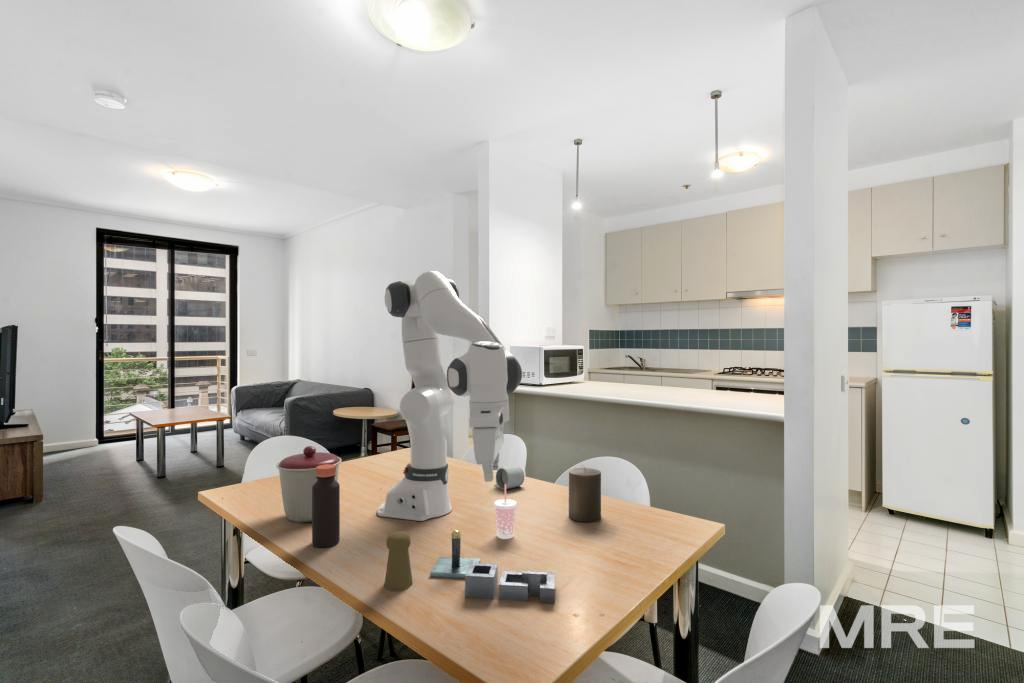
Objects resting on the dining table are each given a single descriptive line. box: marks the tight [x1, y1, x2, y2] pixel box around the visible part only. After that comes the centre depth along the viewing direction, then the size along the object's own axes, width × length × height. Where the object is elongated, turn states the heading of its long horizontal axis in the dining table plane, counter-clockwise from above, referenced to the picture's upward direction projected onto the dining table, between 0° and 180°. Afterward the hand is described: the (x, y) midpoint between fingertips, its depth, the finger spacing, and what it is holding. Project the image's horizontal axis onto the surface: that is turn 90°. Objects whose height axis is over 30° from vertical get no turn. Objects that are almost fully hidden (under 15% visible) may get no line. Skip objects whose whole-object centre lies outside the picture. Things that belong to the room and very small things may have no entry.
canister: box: [276, 445, 342, 523], centre depth 150 cm, size 18×18×21 cm
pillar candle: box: [568, 467, 602, 523], centre depth 150 cm, size 10×10×15 cm
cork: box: [384, 531, 413, 592], centre depth 109 cm, size 6×6×11 cm
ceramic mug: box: [495, 465, 525, 491], centre depth 181 cm, size 11×8×8 cm
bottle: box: [311, 464, 341, 549], centre depth 131 cm, size 7×7×20 cm
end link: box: [464, 562, 499, 600], centre depth 106 cm, size 6×6×4 cm
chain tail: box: [498, 570, 556, 605], centre depth 105 cm, size 12×7×4 cm, turn 84°
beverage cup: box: [493, 484, 518, 540], centre depth 136 cm, size 6×6×14 cm
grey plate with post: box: [429, 529, 481, 579], centre depth 116 cm, size 10×8×9 cm
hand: (492, 474), depth 113 cm, fingers open, 8 cm apart
